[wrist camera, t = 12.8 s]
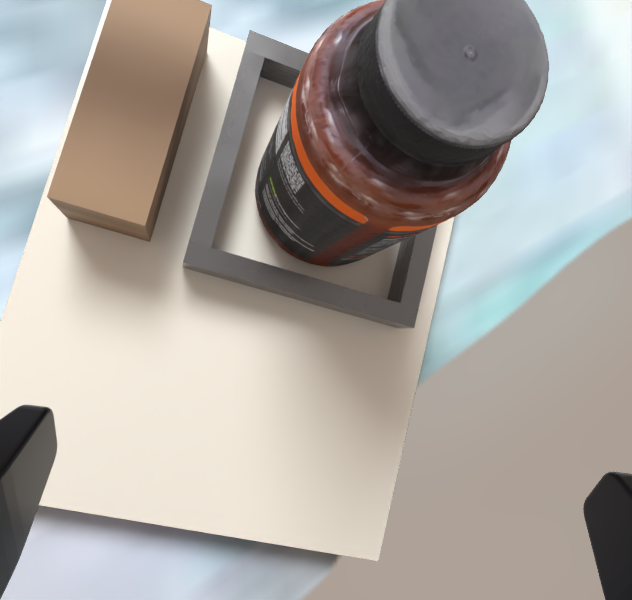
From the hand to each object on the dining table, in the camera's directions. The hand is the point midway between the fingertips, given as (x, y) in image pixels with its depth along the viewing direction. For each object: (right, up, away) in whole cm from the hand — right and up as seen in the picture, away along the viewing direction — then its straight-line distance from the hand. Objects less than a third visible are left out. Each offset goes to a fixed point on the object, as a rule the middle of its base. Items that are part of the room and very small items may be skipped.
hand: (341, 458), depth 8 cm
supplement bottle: (0, +7, +13) cm, 15 cm away
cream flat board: (-3, +3, +13) cm, 14 cm away
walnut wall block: (-7, +9, +11) cm, 16 cm away
